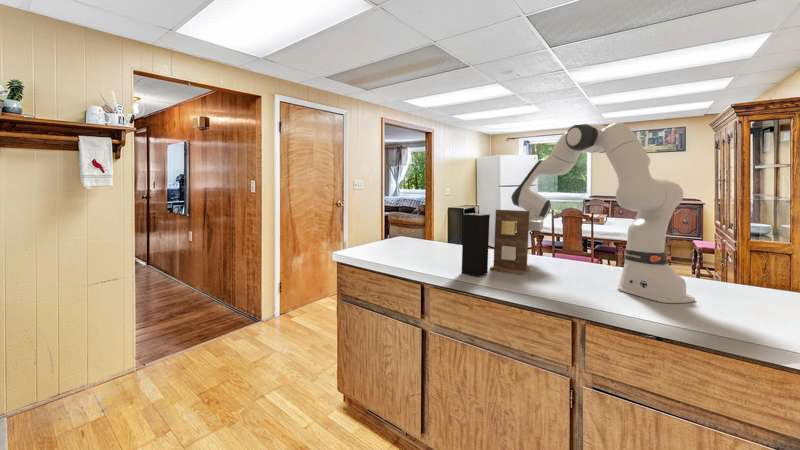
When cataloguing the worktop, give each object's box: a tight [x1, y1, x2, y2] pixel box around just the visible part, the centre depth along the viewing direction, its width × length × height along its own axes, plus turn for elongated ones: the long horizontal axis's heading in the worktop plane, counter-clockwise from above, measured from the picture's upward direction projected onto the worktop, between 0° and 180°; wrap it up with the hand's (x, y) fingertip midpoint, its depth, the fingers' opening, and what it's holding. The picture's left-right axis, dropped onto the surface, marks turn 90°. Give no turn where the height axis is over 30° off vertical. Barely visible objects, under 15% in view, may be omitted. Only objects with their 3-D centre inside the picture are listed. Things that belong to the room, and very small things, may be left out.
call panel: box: [489, 208, 530, 276], centre depth 154 cm, size 10×14×26 cm
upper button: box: [501, 221, 517, 235], centre depth 153 cm, size 7×6×6 cm
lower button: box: [501, 246, 516, 261], centre depth 155 cm, size 7×6×6 cm
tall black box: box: [461, 206, 491, 277], centre depth 148 cm, size 8×8×28 cm
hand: (514, 224), depth 158 cm, fingers closed
